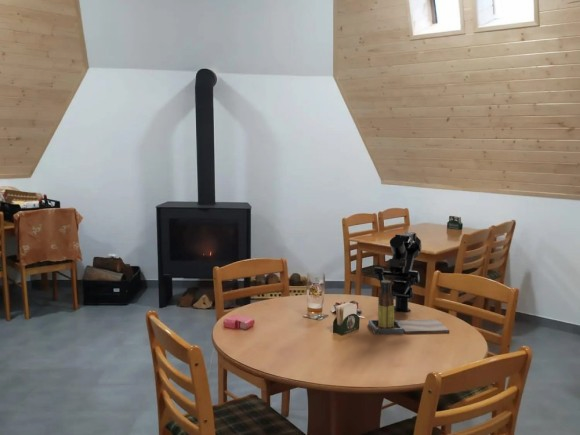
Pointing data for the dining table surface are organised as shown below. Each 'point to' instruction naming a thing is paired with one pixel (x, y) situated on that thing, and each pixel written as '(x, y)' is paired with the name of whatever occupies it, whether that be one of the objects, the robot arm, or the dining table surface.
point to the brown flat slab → (423, 326)
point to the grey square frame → (388, 330)
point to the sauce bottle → (385, 306)
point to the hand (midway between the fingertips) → (393, 292)
